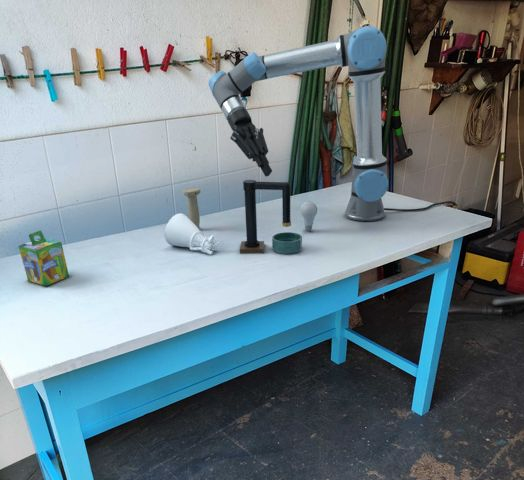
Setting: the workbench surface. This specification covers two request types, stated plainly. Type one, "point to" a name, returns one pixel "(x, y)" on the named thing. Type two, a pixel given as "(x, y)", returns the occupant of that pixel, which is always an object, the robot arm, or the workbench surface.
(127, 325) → the workbench surface
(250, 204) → the black post
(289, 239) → the basin
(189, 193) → the handle
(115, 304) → the workbench surface
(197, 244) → the rocket engine
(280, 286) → the workbench surface
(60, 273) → the chalk box
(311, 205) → the lightbulb
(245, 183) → the spout
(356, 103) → the robot arm
